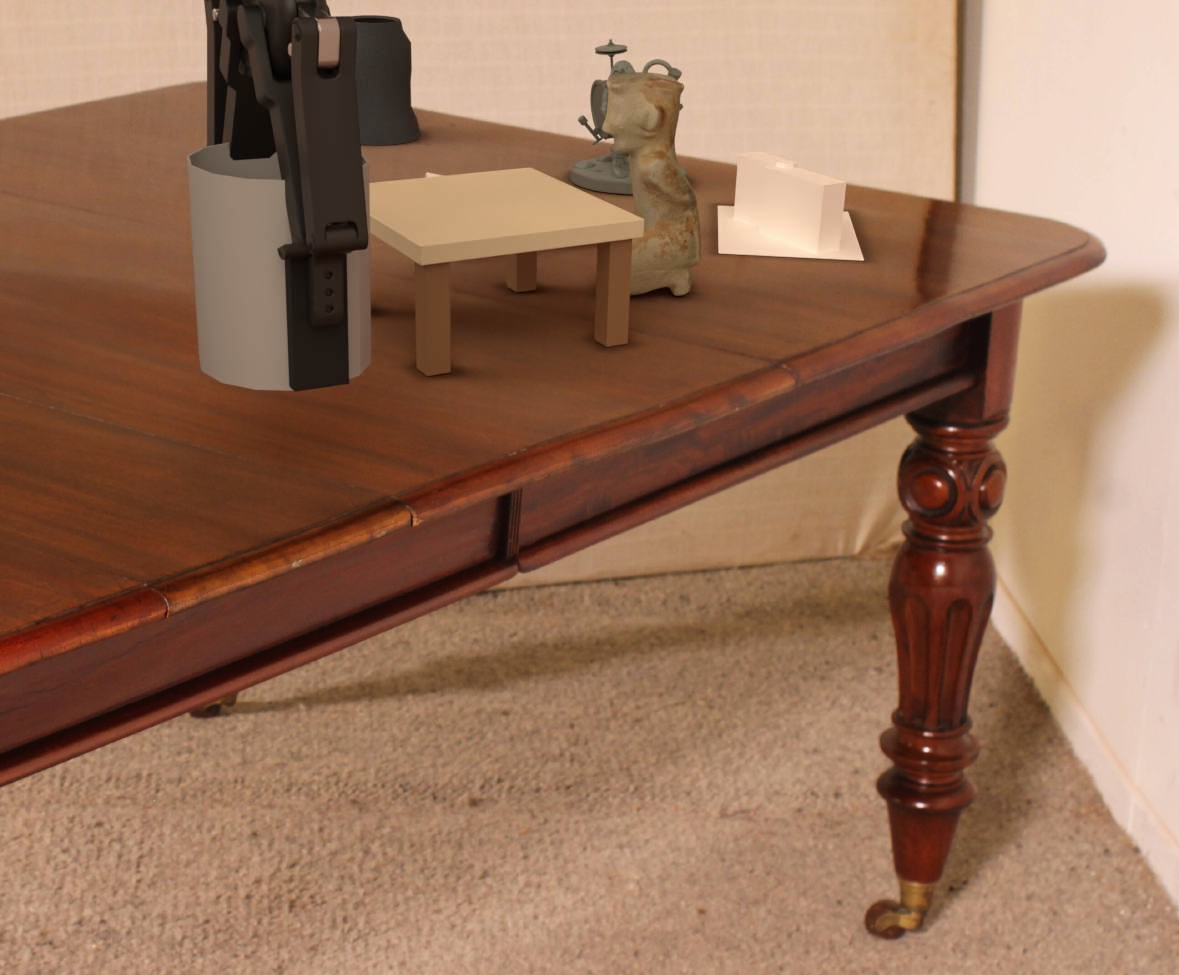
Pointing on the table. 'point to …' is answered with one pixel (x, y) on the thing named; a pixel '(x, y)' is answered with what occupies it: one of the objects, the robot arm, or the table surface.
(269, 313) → the cup
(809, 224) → the napkin holder
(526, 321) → the table surface
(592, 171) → the figurine
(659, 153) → the sculpture
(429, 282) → the side table
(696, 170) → the table surface
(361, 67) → the mug
